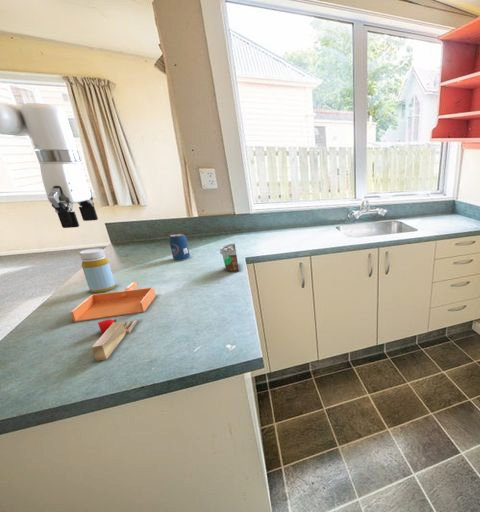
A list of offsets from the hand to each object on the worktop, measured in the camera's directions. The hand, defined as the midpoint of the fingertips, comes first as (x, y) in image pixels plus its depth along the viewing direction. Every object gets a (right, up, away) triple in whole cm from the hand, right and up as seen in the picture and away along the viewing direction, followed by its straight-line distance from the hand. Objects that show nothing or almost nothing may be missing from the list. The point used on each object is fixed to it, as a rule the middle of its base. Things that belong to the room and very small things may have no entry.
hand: (81, 223), depth 81 cm
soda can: (-15, -10, +63) cm, 65 cm away
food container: (+15, -15, +50) cm, 54 cm away
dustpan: (-5, -24, +20) cm, 32 cm away
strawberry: (+4, -29, +1) cm, 29 cm away
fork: (+11, -31, -2) cm, 33 cm away
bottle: (-21, -21, +29) cm, 42 cm away
